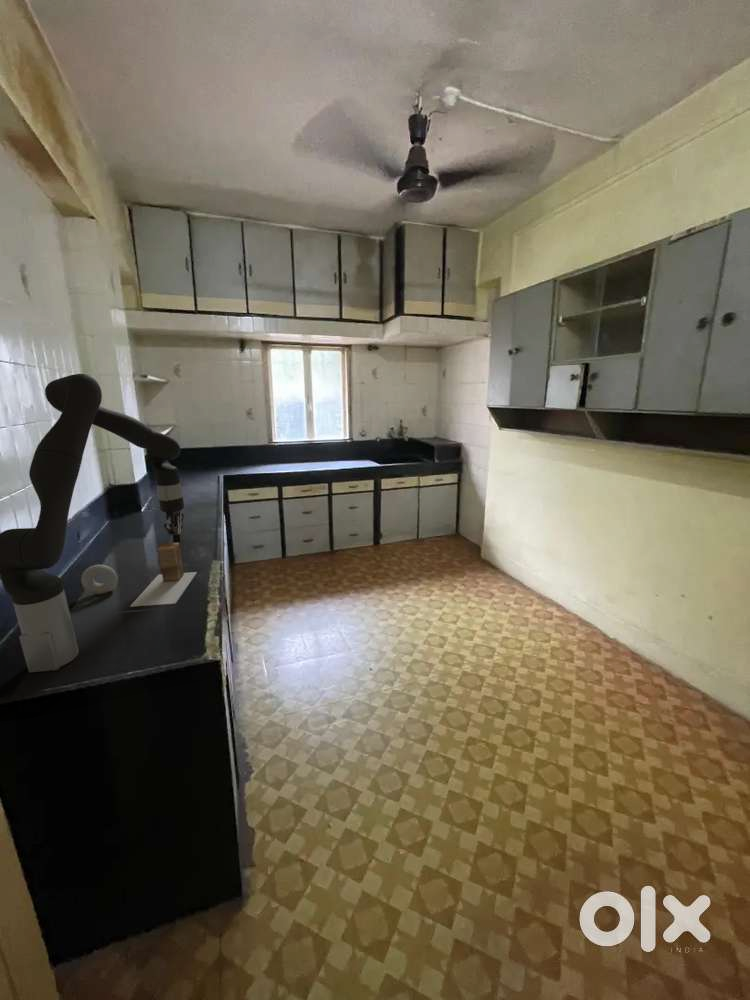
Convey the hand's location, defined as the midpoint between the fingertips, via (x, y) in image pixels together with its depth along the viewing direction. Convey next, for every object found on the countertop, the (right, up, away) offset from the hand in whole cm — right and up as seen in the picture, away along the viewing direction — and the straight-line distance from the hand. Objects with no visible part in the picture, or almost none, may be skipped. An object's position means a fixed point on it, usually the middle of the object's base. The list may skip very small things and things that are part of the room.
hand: (177, 543), depth 144 cm
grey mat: (+2, -14, -12) cm, 18 cm away
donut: (-17, -15, -14) cm, 27 cm away
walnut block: (+1, -11, -5) cm, 12 cm away
